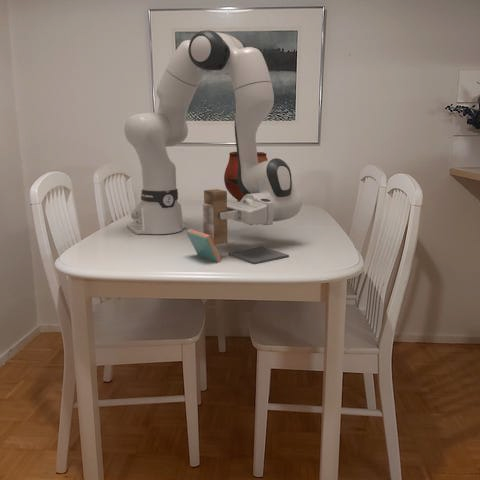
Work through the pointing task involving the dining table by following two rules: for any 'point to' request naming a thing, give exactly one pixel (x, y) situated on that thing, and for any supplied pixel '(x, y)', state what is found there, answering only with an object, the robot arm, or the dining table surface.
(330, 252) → the dining table surface
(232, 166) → the goblet
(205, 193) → the tall wooden block
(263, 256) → the rest mat
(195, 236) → the tile
